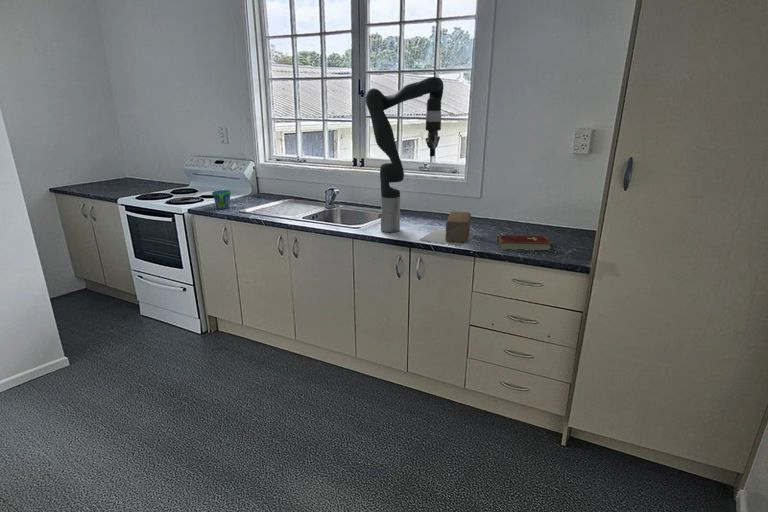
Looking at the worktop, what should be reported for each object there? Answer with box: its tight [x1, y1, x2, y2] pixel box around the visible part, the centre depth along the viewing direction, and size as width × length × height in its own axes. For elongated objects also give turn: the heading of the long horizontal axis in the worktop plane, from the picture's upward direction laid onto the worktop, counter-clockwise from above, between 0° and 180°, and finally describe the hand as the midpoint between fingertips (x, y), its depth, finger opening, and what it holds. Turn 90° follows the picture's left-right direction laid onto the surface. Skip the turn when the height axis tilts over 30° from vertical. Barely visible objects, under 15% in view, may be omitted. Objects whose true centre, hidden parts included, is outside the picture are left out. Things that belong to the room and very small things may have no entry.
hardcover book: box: [496, 234, 552, 250], centre depth 202 cm, size 12×21×4 cm, turn 85°
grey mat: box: [418, 228, 475, 247], centre depth 215 cm, size 21×20×1 cm
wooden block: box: [445, 211, 472, 244], centre depth 214 cm, size 10×10×20 cm
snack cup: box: [211, 189, 232, 210], centre depth 275 cm, size 16×10×10 cm
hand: (432, 156), depth 229 cm, fingers closed
